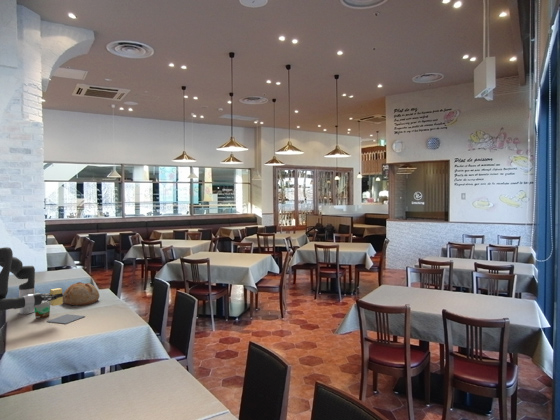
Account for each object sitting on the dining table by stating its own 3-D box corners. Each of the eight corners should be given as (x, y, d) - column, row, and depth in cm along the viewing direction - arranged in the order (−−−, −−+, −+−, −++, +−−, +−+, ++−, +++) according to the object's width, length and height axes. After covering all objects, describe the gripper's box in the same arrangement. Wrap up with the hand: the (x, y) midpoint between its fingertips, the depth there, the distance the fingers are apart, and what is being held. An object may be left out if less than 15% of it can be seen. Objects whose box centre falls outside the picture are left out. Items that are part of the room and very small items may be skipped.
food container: (41, 319, 256) (41, 305, 255) (33, 319, 257) (33, 304, 257) (55, 314, 268) (55, 300, 267) (48, 314, 269) (48, 299, 269)
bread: (55, 304, 295) (54, 285, 294) (81, 297, 316) (81, 279, 316) (79, 307, 284) (78, 287, 284) (105, 300, 305) (104, 281, 305)
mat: (46, 322, 251) (46, 321, 251) (66, 314, 266) (66, 314, 266) (65, 324, 246) (65, 323, 246) (85, 316, 261) (85, 316, 261)
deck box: (50, 304, 248) (49, 289, 247) (59, 302, 252) (59, 287, 252) (53, 306, 245) (52, 290, 244) (63, 304, 249) (62, 288, 249)
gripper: (35, 295, 232) (65, 290, 246) (26, 292, 241) (55, 287, 255) (36, 307, 233) (65, 301, 246) (27, 304, 241) (56, 298, 255)
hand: (60, 294), depth 250 cm, fingers closed on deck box, 4 cm apart
